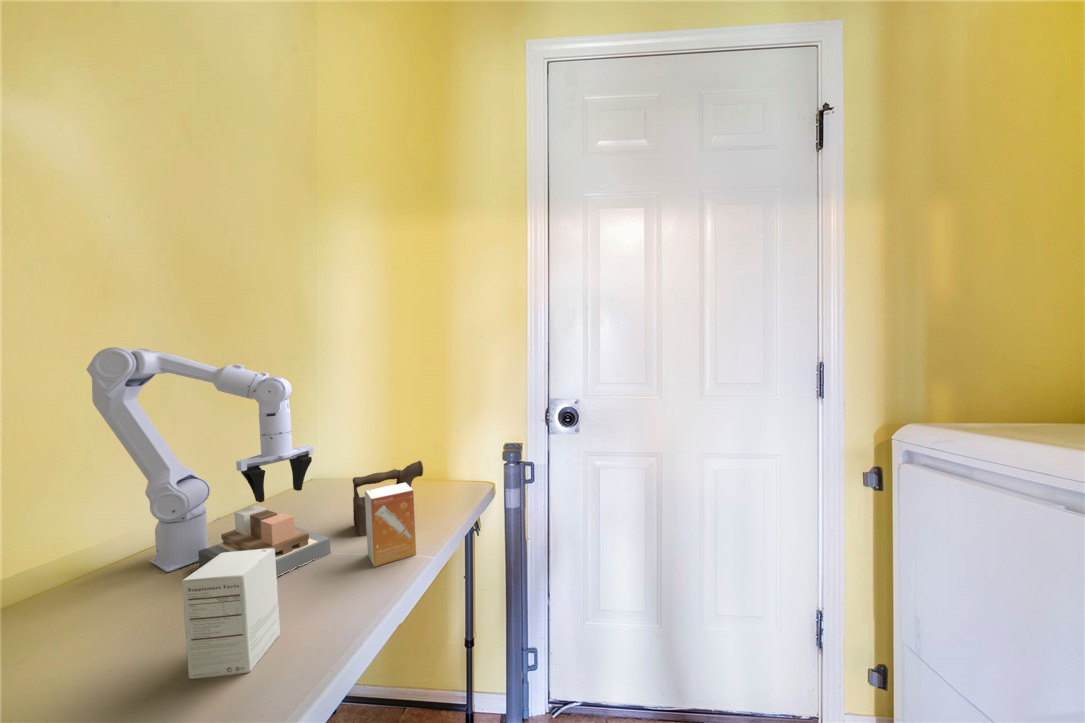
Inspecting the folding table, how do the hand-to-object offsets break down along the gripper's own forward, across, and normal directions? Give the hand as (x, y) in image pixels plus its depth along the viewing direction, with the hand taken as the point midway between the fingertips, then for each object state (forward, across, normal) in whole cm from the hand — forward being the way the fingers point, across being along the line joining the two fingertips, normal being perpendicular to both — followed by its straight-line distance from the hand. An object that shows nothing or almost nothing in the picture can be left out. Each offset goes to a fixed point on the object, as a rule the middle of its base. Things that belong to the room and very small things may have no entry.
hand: (279, 495), depth 88 cm
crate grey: (+5, -6, 0) cm, 8 cm away
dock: (+10, -6, -5) cm, 13 cm away
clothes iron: (+11, +17, -13) cm, 24 cm away
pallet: (+7, -6, -5) cm, 10 cm away
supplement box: (+11, -21, -31) cm, 39 cm away
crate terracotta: (+5, -6, -10) cm, 13 cm away
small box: (+11, +7, -27) cm, 30 cm away
